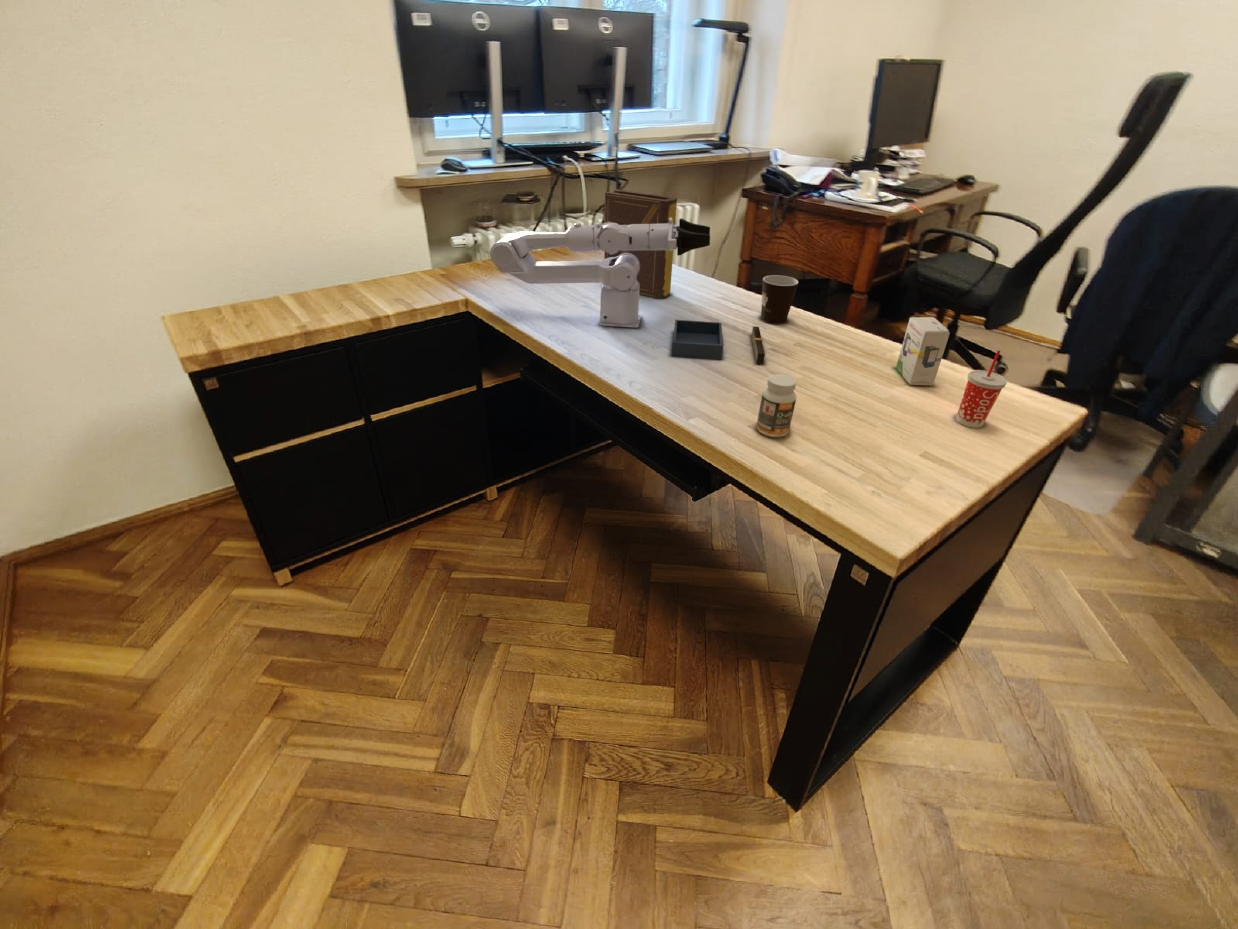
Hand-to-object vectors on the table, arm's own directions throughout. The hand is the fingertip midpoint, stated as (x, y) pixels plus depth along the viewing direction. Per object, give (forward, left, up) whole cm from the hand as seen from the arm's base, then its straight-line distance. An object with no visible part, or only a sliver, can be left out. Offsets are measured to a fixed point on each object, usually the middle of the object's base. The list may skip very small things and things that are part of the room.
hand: (710, 235), depth 132 cm
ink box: (+45, -21, -22) cm, 54 cm away
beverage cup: (+50, -39, -22) cm, 67 cm away
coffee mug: (+19, +10, -22) cm, 31 cm away
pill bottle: (+13, -48, -22) cm, 54 cm away
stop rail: (+13, -12, -22) cm, 28 cm away
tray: (-1, -12, -22) cm, 25 cm away
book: (-19, +26, -22) cm, 39 cm away
